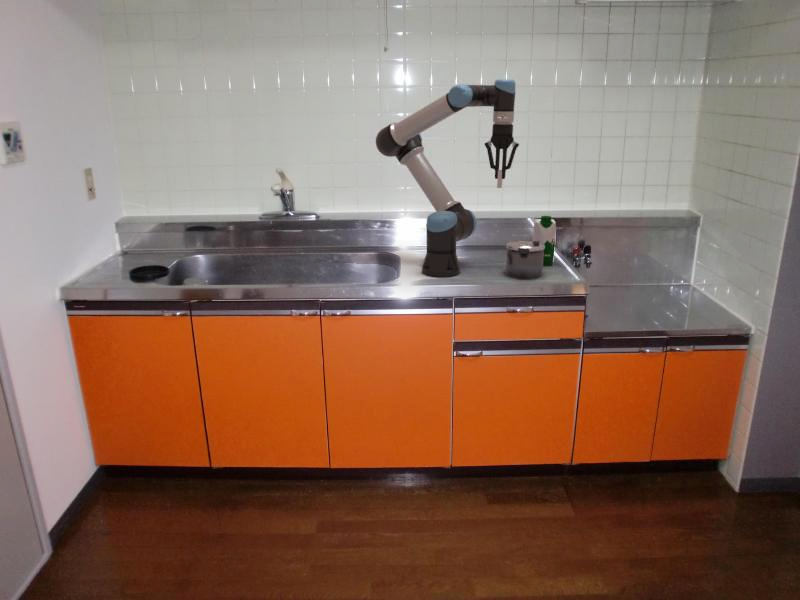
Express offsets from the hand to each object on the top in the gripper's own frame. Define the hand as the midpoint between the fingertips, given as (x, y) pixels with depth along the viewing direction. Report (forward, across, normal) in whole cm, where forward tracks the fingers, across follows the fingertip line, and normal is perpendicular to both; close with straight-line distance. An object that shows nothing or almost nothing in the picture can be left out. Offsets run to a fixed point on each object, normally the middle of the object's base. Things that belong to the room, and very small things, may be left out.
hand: (499, 187), depth 235 cm
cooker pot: (+33, +12, -2) cm, 35 cm away
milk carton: (+33, +18, +17) cm, 41 cm away
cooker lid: (+22, +12, -3) cm, 25 cm away
